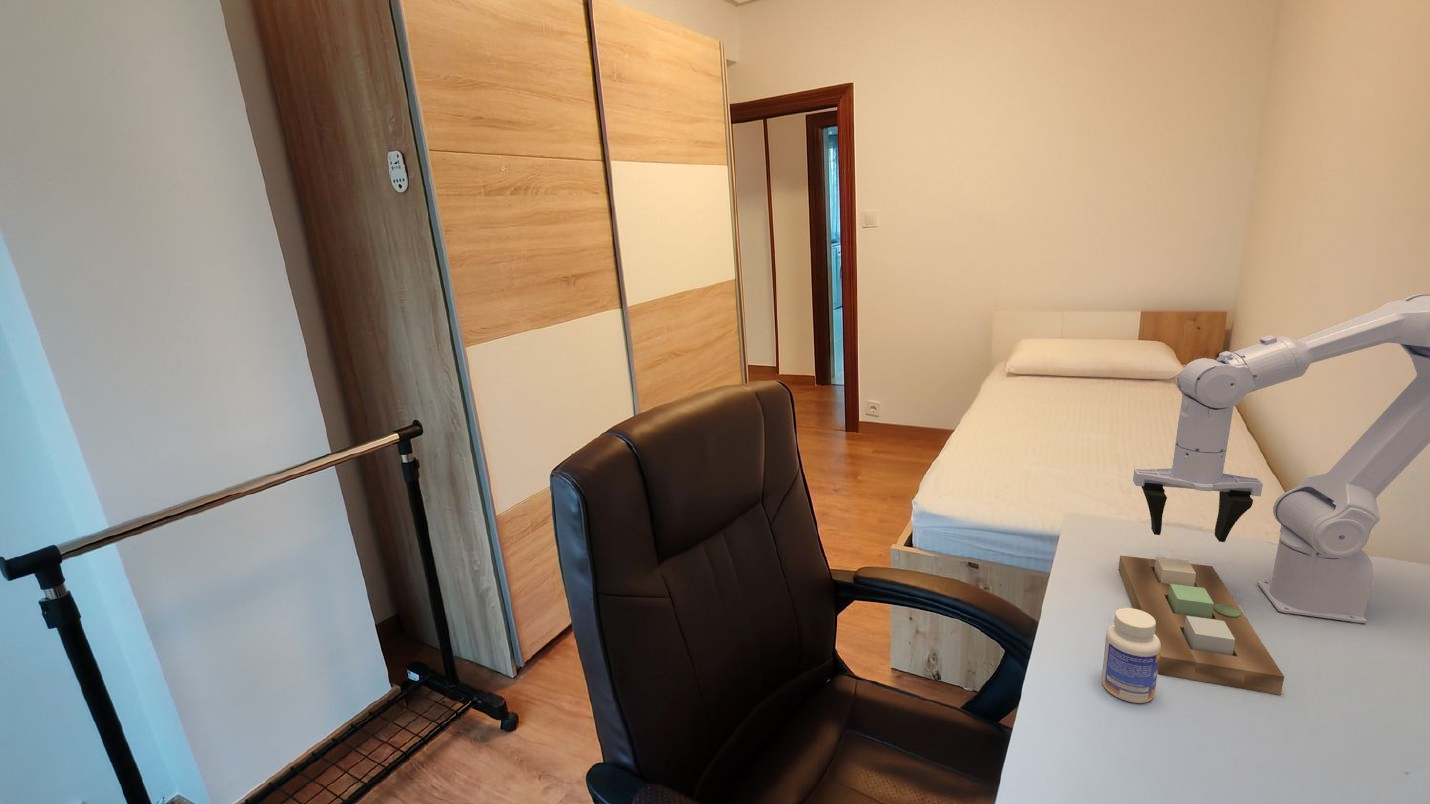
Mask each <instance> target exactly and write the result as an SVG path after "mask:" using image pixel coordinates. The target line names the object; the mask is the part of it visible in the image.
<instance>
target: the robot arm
mask: <svg viewBox="0 0 1430 804" xmlns="http://www.w3.org/2000/svg"><path fill="white" fill-rule="evenodd" d="M1258 339H1259V343H1255V344H1252V345H1250V346H1247V347H1244V348H1241V349H1238V350H1235V351H1231V352H1230V351H1228V350H1225V351H1223V352H1219V354H1218V357H1217V358H1216V360H1215V359H1214V358H1208V357H1201V358H1198V359H1194V360H1192V361H1190V362H1189V363H1187V364H1186V366H1185V367H1183V368H1182V369H1181V371H1180V373H1179V375H1177V376H1175V377H1174V380H1175V385H1176V388H1177V389H1178V391H1179V392H1180V393H1181V404H1180V408H1179V409H1180V411H1179V416H1178V423H1177V430H1176V436H1175V437H1176V438H1175V445H1174V452H1173V459H1172V466H1171V467H1170V468H1152V469H1150V468H1149V469H1147V468H1146V469H1145V468H1144V469H1143V468H1134V470H1133V478H1132V482H1133V484H1134V485H1135V486H1136V487H1141V490H1142V492H1143V494H1144V498H1145V499H1146V503H1147V507H1148V510H1149V516H1150V523H1151V524H1150V525H1151V527H1150V528H1151V531H1152V533H1153V535H1156V536H1161V534H1162V533H1161V532H1162V525H1163V515H1164V511H1165V506H1166V503H1167V499H1168V497H1167V494H1166V493H1165V492H1166V491H1165V488H1164V487H1167V488H1177V489H1190V490H1195V491H1200V492H1201V491H1202V492H1218V493H1219V496H1218V497H1219V498H1218V499H1219V500H1218V502H1219V503H1218V511H1217V512H1218V513H1217V517H1216V523H1215V527H1214V536H1215V538H1216V539H1217V541H1218V542H1220V543H1225V542H1226V540H1227V538H1228V536H1229V535H1230V532H1231V530H1232V529H1233V527H1234V526H1235V524H1236V523H1237V522H1238V520H1239V519H1240V518H1241V517H1242V516H1243V515H1244V514H1245V513H1246V512H1247V511H1248V510H1250V509H1251V508H1252V506H1253V504H1254V499H1253V498H1252V497H1261V496H1262V490H1263V486H1264V483H1263V482H1262V481H1261V480H1260V479H1259V478H1258V477H1250V476H1249V477H1248V476H1241V475H1234V474H1230V473H1225V472H1224V468H1225V463H1226V456H1227V449H1228V443H1229V436H1230V431H1231V424H1232V420H1233V419H1232V418H1233V411H1234V408H1235V406H1237V405H1238V404H1239V403H1240V402H1242V400H1244V398H1245V397H1246V395H1248V394H1251V393H1253V392H1257V391H1259V390H1262V389H1266V388H1268V387H1272V386H1276V385H1278V384H1281V383H1284V382H1287V381H1290V380H1293V379H1297V378H1300V377H1302V376H1304V375H1305V373H1306V372H1307V370H1308V369H1309V367H1310V365H1311V364H1313V363H1317V362H1320V361H1321V362H1322V361H1324V360H1329V359H1331V358H1336V357H1339V356H1342V355H1346V354H1350V353H1353V352H1357V351H1361V350H1365V349H1368V348H1372V347H1376V346H1380V345H1384V344H1386V343H1387V344H1389V343H1391V344H1399V345H1400V347H1402V348H1403V350H1404V351H1405V353H1406V354H1407V355H1408V356H1409V357H1410V358H1411V361H1412V364H1413V367H1414V370H1415V372H1416V376H1415V378H1414V379H1413V380H1412V381H1411V382H1410V383H1409V384H1408V385H1407V386H1406V388H1404V389H1403V390H1402V392H1401V393H1400V394H1399V395H1398V396H1397V397H1396V398H1395V399H1394V401H1393V402H1392V403H1391V404H1390V405H1389V406H1388V407H1387V408H1386V409H1385V410H1384V411H1383V412H1382V413H1381V415H1380V416H1378V418H1377V419H1376V420H1375V421H1374V422H1373V423H1372V424H1371V425H1370V426H1369V428H1367V430H1366V431H1364V432H1363V434H1362V435H1361V436H1360V437H1359V438H1358V439H1357V440H1356V441H1355V443H1353V445H1352V446H1351V447H1350V448H1349V449H1348V450H1347V451H1346V452H1345V453H1344V455H1342V457H1341V458H1339V460H1337V462H1336V463H1335V464H1334V465H1333V466H1332V467H1331V469H1330V470H1329V471H1328V472H1326V473H1323V474H1322V473H1321V474H1318V475H1313V476H1308V477H1306V478H1304V479H1303V480H1302V482H1301V483H1299V484H1298V485H1297V486H1296V487H1294V488H1292V489H1290V490H1287V491H1285V492H1283V493H1282V494H1281V495H1280V496H1279V497H1278V498H1277V499H1276V500H1275V502H1274V504H1273V507H1272V512H1273V517H1274V519H1275V520H1276V521H1277V522H1278V524H1280V529H1279V533H1280V534H1279V538H1278V539H1279V540H1278V544H1277V550H1276V554H1275V559H1274V560H1275V561H1274V564H1273V569H1272V576H1271V581H1269V580H1268V581H1266V580H1258V581H1257V584H1258V586H1259V587H1260V589H1261V590H1262V592H1263V593H1264V594H1265V595H1266V597H1267V598H1268V599H1269V601H1270V602H1271V604H1272V605H1273V606H1274V607H1275V609H1276V611H1278V612H1280V613H1286V614H1292V615H1299V616H1300V615H1302V616H1309V617H1315V618H1322V619H1329V620H1331V619H1332V620H1339V621H1345V622H1353V623H1359V624H1366V623H1367V620H1368V619H1366V617H1365V613H1366V609H1367V605H1368V601H1369V596H1370V592H1371V588H1372V583H1373V579H1374V572H1373V571H1374V570H1373V569H1374V568H1373V562H1371V559H1370V556H1369V555H1368V553H1366V552H1365V551H1364V550H1362V549H1363V548H1365V546H1366V545H1367V544H1368V541H1369V538H1370V535H1371V532H1372V530H1373V528H1374V527H1375V526H1376V525H1377V524H1378V523H1379V522H1380V520H1381V515H1380V512H1379V507H1378V504H1377V498H1378V497H1379V496H1380V495H1381V494H1382V493H1383V492H1384V491H1385V489H1386V488H1388V487H1389V485H1390V484H1391V483H1393V481H1394V480H1395V479H1396V478H1397V477H1398V476H1399V475H1400V474H1401V473H1402V472H1403V471H1404V470H1405V469H1406V468H1407V467H1408V466H1409V465H1410V464H1411V463H1412V462H1413V461H1414V460H1415V459H1416V457H1417V456H1418V455H1419V454H1421V453H1422V451H1424V449H1426V447H1427V446H1428V445H1429V444H1430V293H1419V294H1414V295H1410V296H1408V297H1406V298H1404V299H1401V300H1400V299H1397V300H1393V301H1389V302H1386V303H1385V304H1383V305H1382V306H1380V307H1379V308H1377V309H1375V310H1372V311H1369V312H1367V313H1364V314H1361V315H1359V316H1356V317H1353V318H1351V319H1348V320H1346V321H1344V322H1341V323H1338V324H1335V325H1332V326H1331V327H1328V328H1325V329H1322V330H1319V331H1317V332H1314V333H1312V334H1309V335H1307V336H1304V337H1301V338H1299V339H1297V340H1296V339H1294V338H1291V337H1289V336H1284V335H1280V336H1274V335H1270V334H1268V335H1264V336H1262V337H1260V338H1258Z"/></svg>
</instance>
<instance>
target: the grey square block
mask: <svg viewBox="0 0 1430 804" xmlns="http://www.w3.org/2000/svg"><path fill="white" fill-rule="evenodd" d="M1183 635H1184V637H1185V639H1186V641H1187V644H1188V646H1189V648H1190V649H1192V650H1199V651H1205V652H1211V653H1218V654H1224V655H1230V656H1232V655H1233V650H1234V644H1235V638H1234V637H1233V635H1232V633H1231V632H1230V630H1229V628H1228V627H1227V625H1226V623H1225V622H1224V621H1220V620H1213V619H1206V618H1199V617H1192V616H1186V620H1185V626H1184V633H1183Z"/></svg>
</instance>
